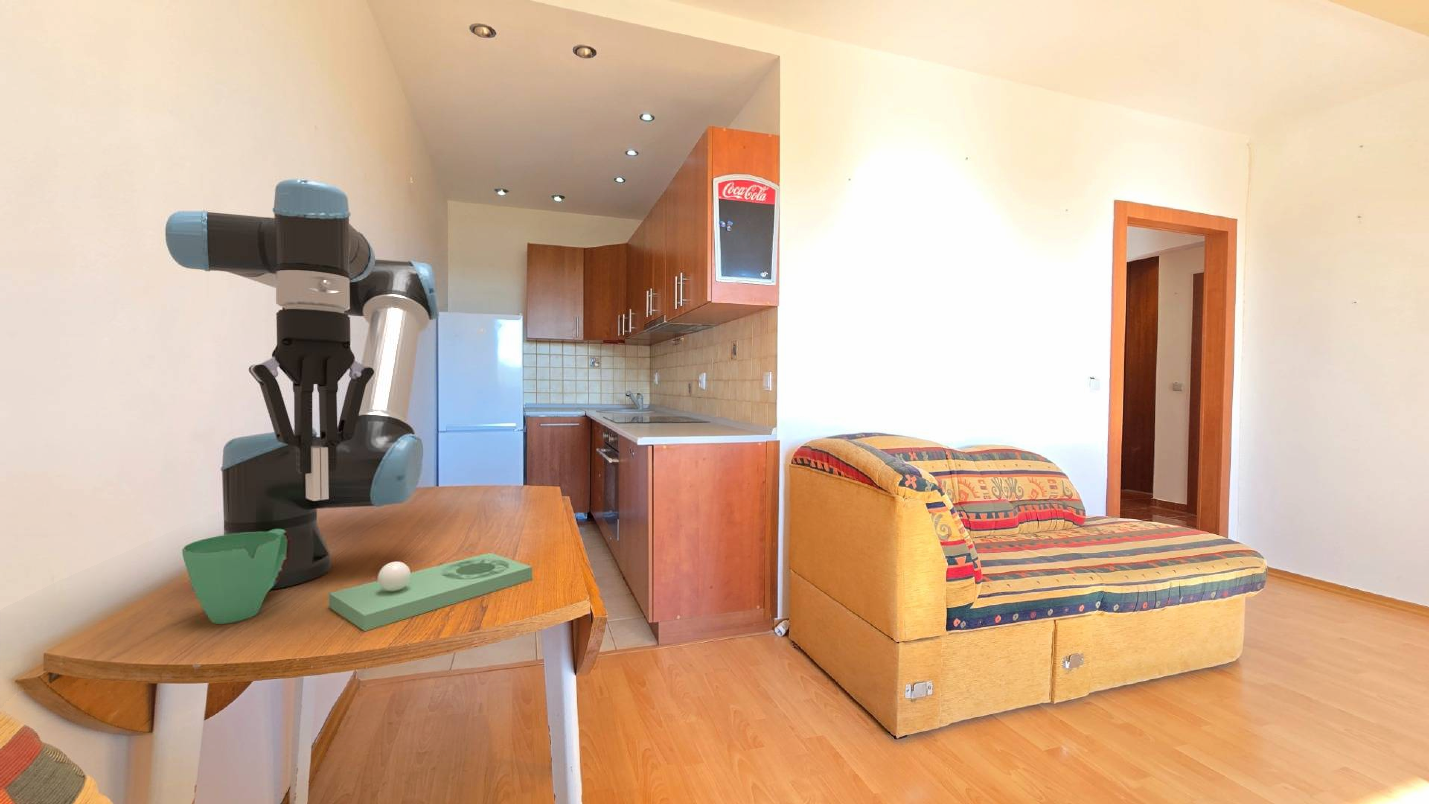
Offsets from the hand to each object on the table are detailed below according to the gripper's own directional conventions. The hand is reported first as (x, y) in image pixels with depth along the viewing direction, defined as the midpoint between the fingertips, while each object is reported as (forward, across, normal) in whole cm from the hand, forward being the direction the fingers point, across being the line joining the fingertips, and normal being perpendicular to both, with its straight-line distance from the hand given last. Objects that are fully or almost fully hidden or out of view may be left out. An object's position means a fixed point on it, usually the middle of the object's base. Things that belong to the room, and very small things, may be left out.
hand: (317, 498), depth 71 cm
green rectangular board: (+16, +15, 0) cm, 22 cm away
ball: (+12, +9, 0) cm, 15 cm away
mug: (+17, -4, +14) cm, 22 cm away
